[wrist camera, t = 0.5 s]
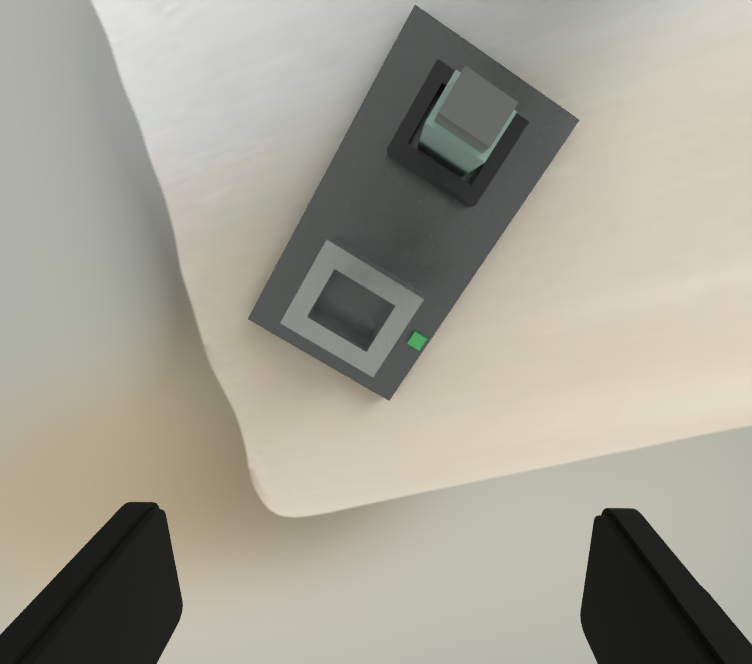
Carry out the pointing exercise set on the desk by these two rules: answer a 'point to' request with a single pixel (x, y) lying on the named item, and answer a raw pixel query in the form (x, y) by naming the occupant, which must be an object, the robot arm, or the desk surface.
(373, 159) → the panel
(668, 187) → the desk surface
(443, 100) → the plug
